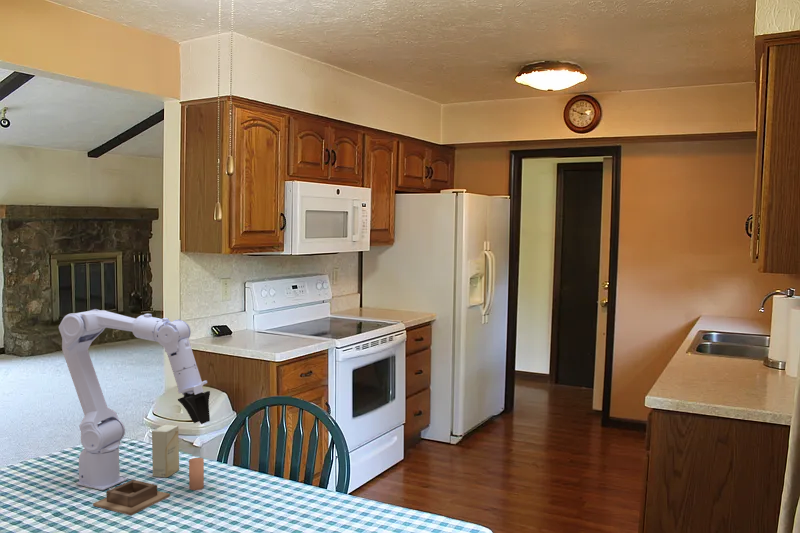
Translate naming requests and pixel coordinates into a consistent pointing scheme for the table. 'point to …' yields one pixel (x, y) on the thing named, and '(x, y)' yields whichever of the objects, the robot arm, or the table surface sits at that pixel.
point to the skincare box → (165, 450)
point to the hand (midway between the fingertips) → (201, 422)
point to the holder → (131, 497)
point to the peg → (196, 473)
